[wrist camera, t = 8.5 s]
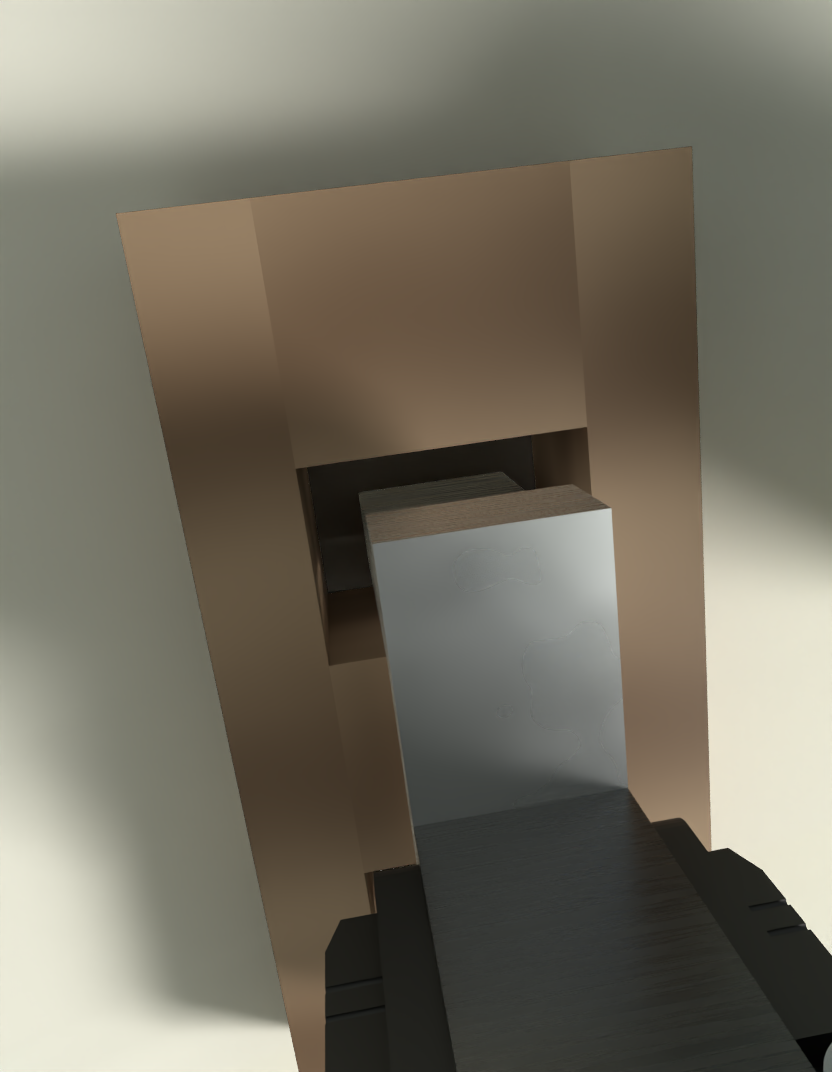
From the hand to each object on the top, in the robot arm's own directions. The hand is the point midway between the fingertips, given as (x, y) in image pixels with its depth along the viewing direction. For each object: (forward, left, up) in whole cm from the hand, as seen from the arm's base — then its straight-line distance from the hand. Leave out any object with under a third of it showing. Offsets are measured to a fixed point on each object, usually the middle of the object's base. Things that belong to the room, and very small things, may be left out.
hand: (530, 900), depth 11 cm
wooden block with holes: (0, 0, -8) cm, 8 cm away
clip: (0, 0, -7) cm, 7 cm away
